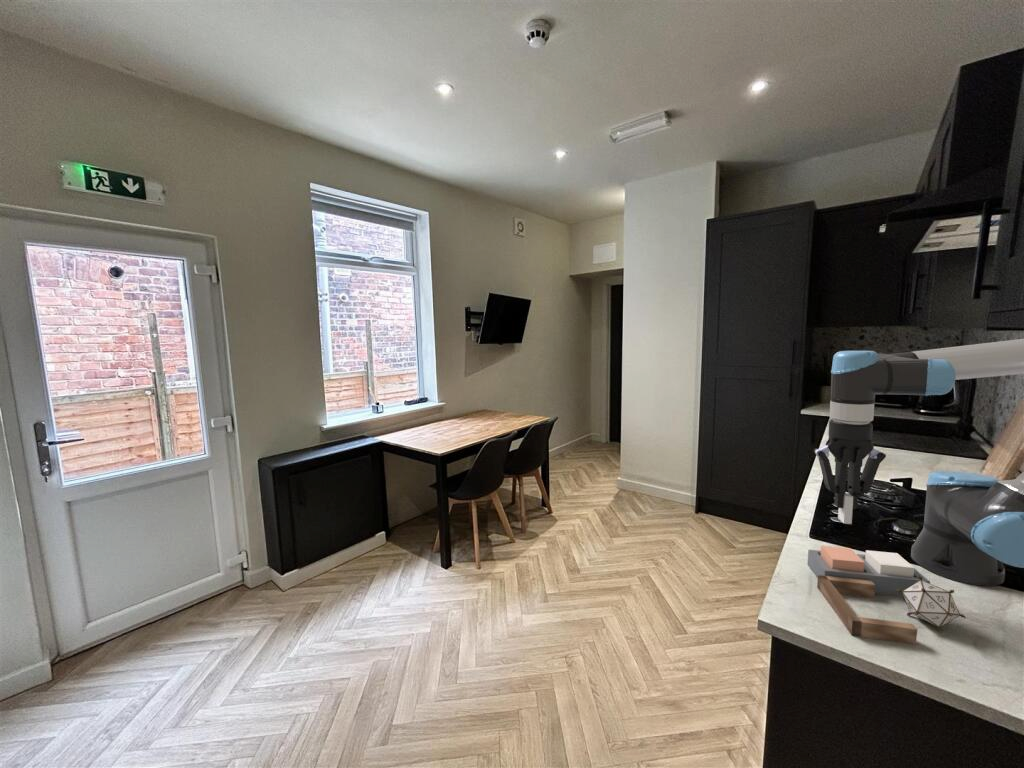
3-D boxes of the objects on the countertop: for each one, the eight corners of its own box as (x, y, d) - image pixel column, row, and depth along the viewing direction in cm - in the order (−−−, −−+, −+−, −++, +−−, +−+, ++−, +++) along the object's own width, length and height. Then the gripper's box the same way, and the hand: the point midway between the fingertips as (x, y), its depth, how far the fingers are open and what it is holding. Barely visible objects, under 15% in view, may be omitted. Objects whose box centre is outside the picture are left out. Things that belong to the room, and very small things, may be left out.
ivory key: (896, 565, 94) (897, 553, 94) (913, 580, 89) (914, 567, 88) (865, 562, 96) (865, 550, 96) (879, 577, 90) (880, 564, 90)
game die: (914, 631, 83) (894, 577, 88) (974, 635, 78) (949, 577, 82) (908, 630, 78) (888, 572, 83) (972, 634, 72) (946, 572, 77)
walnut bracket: (870, 593, 89) (871, 580, 89) (916, 644, 75) (917, 629, 75) (817, 587, 92) (817, 575, 92) (851, 635, 78) (852, 620, 78)
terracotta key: (849, 560, 97) (850, 548, 96) (863, 574, 91) (864, 562, 91) (820, 557, 98) (821, 545, 98) (832, 571, 93) (832, 559, 92)
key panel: (901, 574, 95) (902, 558, 95) (928, 598, 87) (929, 581, 86) (807, 564, 101) (808, 549, 100) (823, 586, 92) (824, 570, 92)
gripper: (876, 417, 92) (869, 516, 95) (809, 416, 96) (805, 511, 99) (897, 424, 85) (889, 531, 88) (823, 423, 89) (818, 526, 92)
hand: (844, 520), depth 93 cm, fingers closed
